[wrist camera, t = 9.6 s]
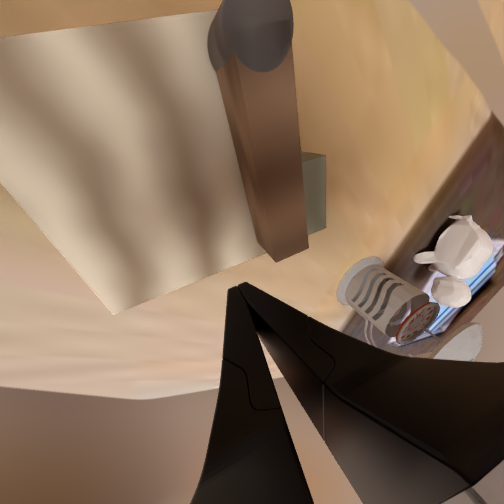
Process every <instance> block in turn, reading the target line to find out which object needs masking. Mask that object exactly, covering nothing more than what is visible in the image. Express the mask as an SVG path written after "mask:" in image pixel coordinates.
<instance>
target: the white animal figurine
mask: <svg viewBox="0 0 504 504" xmlns="http://www.w3.org/2000/svg"><path fill="white" fill-rule="evenodd" d="M449 218H451V219H455V220H456V221H455V222H454V223H452V224H451V225H450V226H449V227H448V228H447V229H446V230H445V231H444V232H443V233H442V234H441V235H440V237H439V240H438V241H437V244H436V247H435V249H434V251H432V252H422V253H419V254H415V255H414V257H413V261H415V262H416V263H420V264H427V263H433V264H431V265H430V266H429V267H428V269H429V270H431V271H439V272H440V273H442V274H444V275H446V276H447V277H436V278H435V279H434V280H433V286H432V288H431V293H432V296H433V298H434V299H435V300H436V301H437V302H438V303H440V304H441V305H445V306H449V307H453V308H456V307H461V306H464V305H465V304H467V303H468V302H469V301H470V299H471V291H470V288H469V286H468V285H467V283H465V282H463V281H461V279H465V278H470V277H473V276H474V275H476V274H477V273H478V272H479V270H480V269H481V267H482V265H483V264H484V263H485V262H486V261H487V260H488V258H489V257H490V256H491V255H492V253H493V245H492V241H491V238H490V237H489V235H488V234H487V233H486V232H485V231H484V230H483V229H481V228H480V226H479V225H477V224H476V223H475V222H473V220H472V216H471V215H468V216H460V215H456V216H449Z"/></svg>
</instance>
